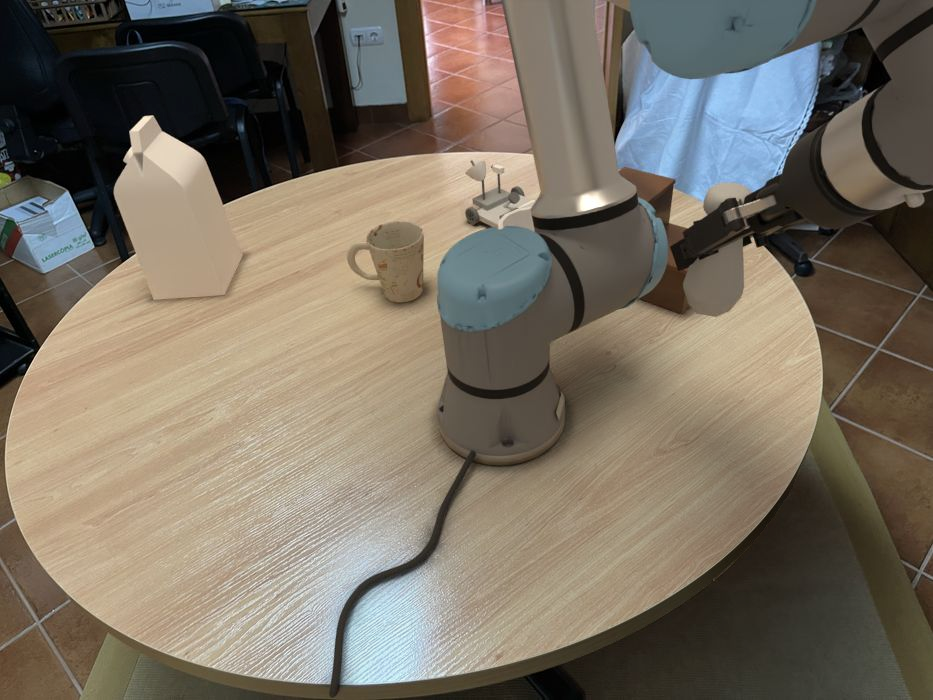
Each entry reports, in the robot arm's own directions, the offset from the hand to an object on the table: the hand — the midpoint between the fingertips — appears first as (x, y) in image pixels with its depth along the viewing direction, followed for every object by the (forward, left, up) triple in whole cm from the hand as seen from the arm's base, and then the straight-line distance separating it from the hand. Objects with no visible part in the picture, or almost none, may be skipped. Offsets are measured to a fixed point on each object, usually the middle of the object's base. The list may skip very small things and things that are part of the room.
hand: (692, 253), depth 71 cm
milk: (-18, +76, -21) cm, 80 cm away
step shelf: (+21, +15, -20) cm, 33 cm away
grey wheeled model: (+25, +43, -21) cm, 53 cm away
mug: (-3, +46, -21) cm, 50 cm away
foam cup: (+7, +26, -21) cm, 33 cm away
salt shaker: (-2, -3, -4) cm, 6 cm away
